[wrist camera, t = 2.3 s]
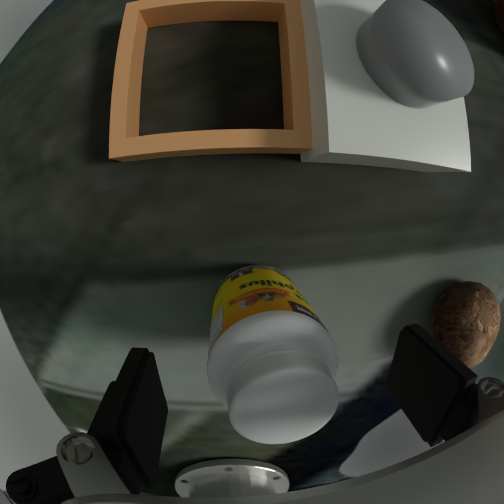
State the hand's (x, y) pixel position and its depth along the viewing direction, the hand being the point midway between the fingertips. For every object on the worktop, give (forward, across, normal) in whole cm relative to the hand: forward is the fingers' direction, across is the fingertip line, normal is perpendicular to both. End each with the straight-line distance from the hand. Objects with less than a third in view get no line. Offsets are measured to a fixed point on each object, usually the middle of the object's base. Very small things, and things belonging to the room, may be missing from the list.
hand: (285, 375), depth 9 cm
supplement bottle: (+9, 0, +1) cm, 9 cm away
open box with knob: (+10, -2, -14) cm, 17 cm away
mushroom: (+9, -18, +4) cm, 21 cm away
